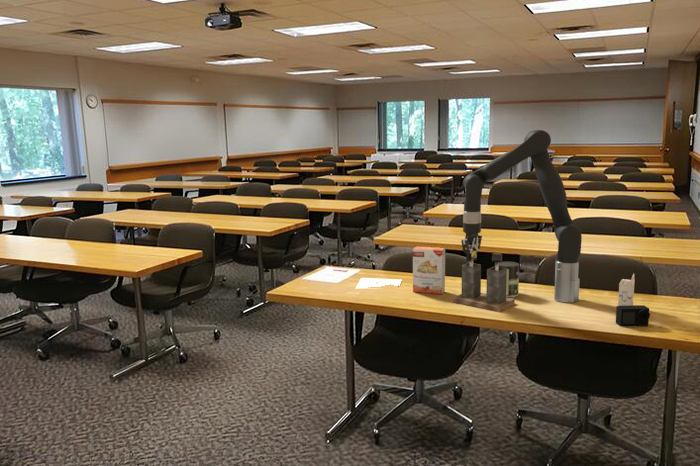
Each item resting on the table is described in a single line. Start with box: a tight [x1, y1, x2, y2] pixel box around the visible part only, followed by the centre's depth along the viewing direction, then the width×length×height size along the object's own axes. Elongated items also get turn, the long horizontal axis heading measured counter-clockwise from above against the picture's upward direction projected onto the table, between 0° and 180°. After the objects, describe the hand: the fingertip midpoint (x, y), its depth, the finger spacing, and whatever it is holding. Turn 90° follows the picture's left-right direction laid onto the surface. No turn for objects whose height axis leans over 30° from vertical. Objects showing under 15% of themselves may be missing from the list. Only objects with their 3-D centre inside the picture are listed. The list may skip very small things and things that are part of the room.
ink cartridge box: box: [617, 273, 636, 306], centre depth 229 cm, size 9×5×15 cm, turn 148°
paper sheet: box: [355, 277, 403, 290], centre depth 273 cm, size 24×29×1 cm
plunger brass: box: [469, 250, 476, 267], centre depth 245 cm, size 4×4×18 cm
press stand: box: [452, 262, 515, 313], centre depth 242 cm, size 22×14×16 cm, turn 49°
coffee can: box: [499, 260, 520, 298], centre depth 254 cm, size 10×10×14 cm
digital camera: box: [615, 304, 651, 327], centre depth 212 cm, size 10×5×7 cm, turn 88°
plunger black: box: [491, 252, 503, 271], centre depth 238 cm, size 4×4×18 cm
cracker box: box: [412, 245, 446, 295], centre depth 260 cm, size 14×6×21 cm, turn 68°
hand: (471, 260), depth 244 cm, fingers closed on plunger brass, 4 cm apart
